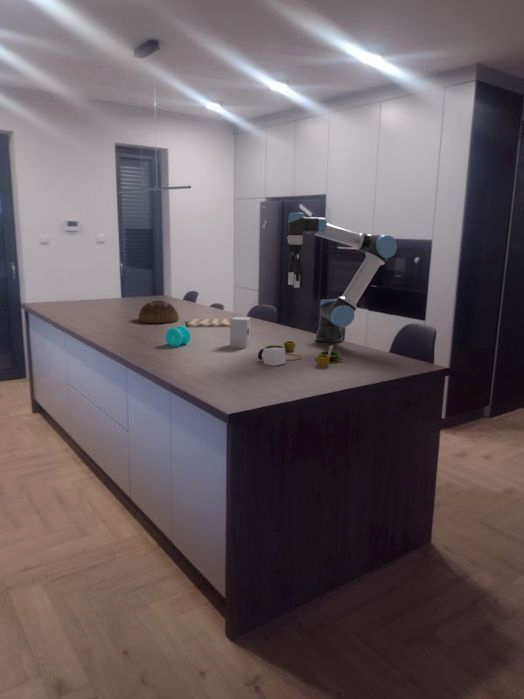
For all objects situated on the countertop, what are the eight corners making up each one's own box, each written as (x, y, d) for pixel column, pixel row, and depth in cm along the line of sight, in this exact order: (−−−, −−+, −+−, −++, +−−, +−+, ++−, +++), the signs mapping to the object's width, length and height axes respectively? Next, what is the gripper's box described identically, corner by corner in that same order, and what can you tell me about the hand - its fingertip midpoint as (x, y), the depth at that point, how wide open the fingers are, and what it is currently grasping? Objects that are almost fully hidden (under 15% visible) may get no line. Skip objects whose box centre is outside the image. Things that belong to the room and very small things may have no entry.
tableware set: (355, 366, 247) (356, 352, 245) (305, 372, 233) (305, 358, 232) (304, 348, 282) (305, 336, 280) (258, 353, 268) (259, 340, 267)
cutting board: (232, 321, 356) (232, 318, 356) (236, 326, 337) (236, 324, 336) (186, 321, 351) (186, 319, 351) (187, 327, 332) (187, 324, 331)
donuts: (164, 346, 277) (164, 327, 274) (176, 342, 285) (175, 324, 283) (180, 348, 272) (180, 329, 270) (191, 345, 281) (191, 326, 279)
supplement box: (246, 348, 275) (247, 319, 272) (229, 347, 277) (229, 318, 273) (250, 345, 284) (251, 317, 280) (234, 344, 285) (234, 316, 282)
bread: (175, 317, 369) (175, 298, 366) (181, 323, 344) (181, 303, 341) (137, 318, 362) (136, 298, 359) (140, 324, 337) (139, 304, 334)
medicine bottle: (285, 348, 242) (266, 346, 250) (274, 350, 237) (255, 348, 246) (286, 363, 243) (267, 361, 251) (275, 366, 238) (256, 363, 246)
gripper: (282, 243, 283) (281, 283, 287) (293, 244, 259) (291, 288, 263) (296, 243, 284) (295, 283, 289) (308, 244, 260) (306, 288, 265)
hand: (293, 286), depth 276 cm, fingers open, 13 cm apart
